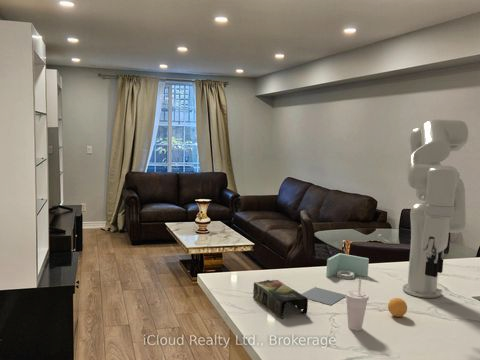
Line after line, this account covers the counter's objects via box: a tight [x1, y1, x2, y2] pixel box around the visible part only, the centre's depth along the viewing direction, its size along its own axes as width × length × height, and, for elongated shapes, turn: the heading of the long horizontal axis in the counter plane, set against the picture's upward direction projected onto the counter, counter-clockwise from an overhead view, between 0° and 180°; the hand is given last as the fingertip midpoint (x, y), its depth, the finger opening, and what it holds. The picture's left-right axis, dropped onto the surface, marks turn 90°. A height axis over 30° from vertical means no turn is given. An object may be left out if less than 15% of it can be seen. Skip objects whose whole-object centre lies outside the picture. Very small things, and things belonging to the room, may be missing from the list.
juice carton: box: [252, 279, 309, 320], centre depth 147 cm, size 20×10×6 cm, turn 24°
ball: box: [387, 297, 408, 318], centre depth 141 cm, size 6×6×6 cm
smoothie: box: [344, 279, 370, 332], centre depth 131 cm, size 6×6×14 cm
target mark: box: [300, 286, 346, 306], centre depth 157 cm, size 12×12×1 cm
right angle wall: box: [325, 252, 370, 280], centre depth 179 cm, size 12×12×8 cm
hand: (433, 273), depth 134 cm, fingers open, 4 cm apart
